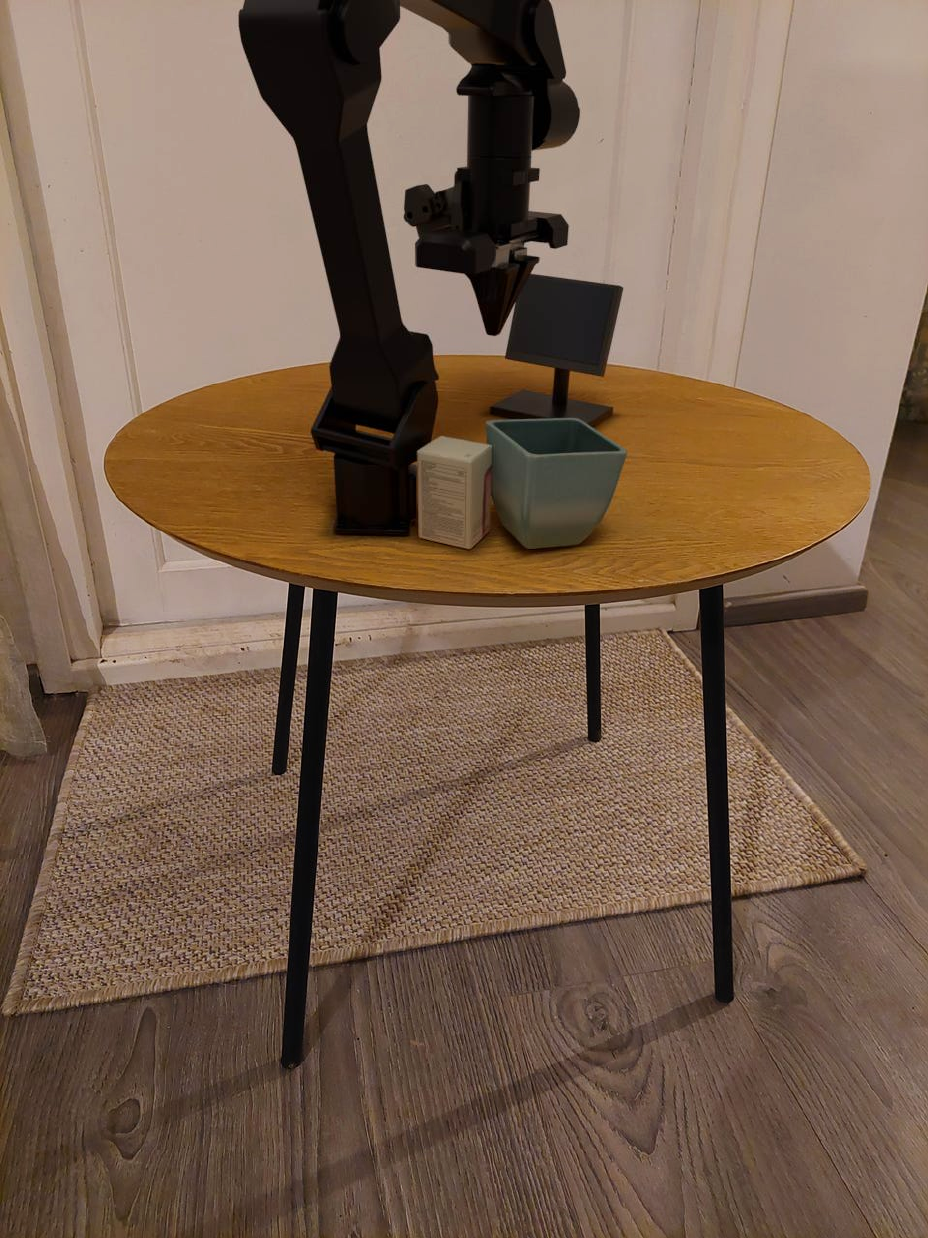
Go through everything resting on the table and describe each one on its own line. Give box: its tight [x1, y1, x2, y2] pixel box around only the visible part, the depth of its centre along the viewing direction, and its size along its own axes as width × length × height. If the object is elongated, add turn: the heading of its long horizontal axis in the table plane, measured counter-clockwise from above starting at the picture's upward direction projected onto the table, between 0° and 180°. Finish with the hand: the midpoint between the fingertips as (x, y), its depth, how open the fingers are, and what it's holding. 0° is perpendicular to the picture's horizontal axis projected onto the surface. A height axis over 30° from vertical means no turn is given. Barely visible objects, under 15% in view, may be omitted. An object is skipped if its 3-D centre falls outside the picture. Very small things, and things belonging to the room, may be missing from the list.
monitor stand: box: [489, 368, 614, 429], centre depth 103 cm, size 8×12×7 cm, turn 59°
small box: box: [416, 435, 492, 550], centre depth 75 cm, size 5×4×8 cm
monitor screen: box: [504, 273, 624, 378], centre depth 101 cm, size 1×12×10 cm, turn 59°
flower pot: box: [485, 418, 629, 550], centre depth 75 cm, size 9×9×9 cm
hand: (493, 334), depth 88 cm, fingers closed
